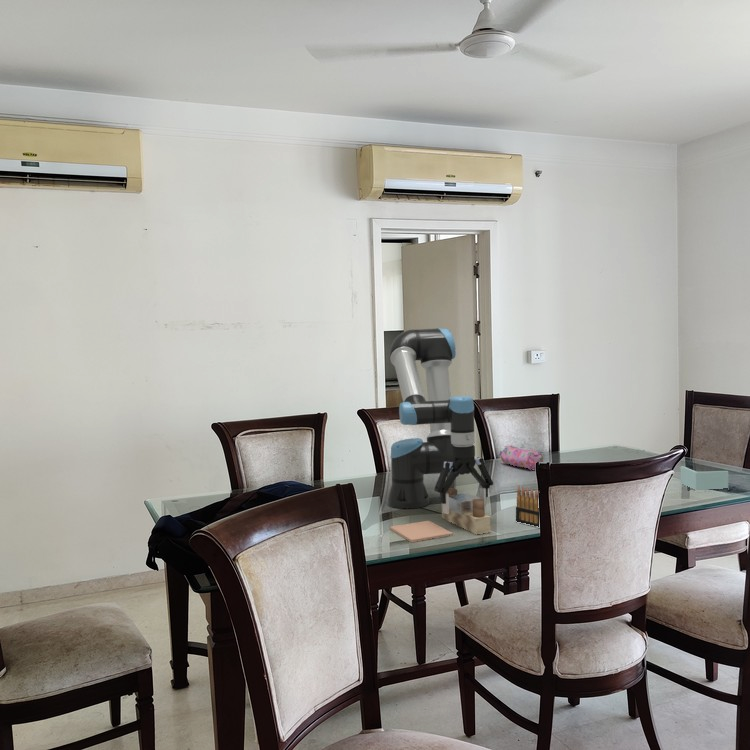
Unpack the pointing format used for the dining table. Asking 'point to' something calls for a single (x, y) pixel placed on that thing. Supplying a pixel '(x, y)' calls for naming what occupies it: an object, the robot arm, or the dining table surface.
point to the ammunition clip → (527, 507)
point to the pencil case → (520, 457)
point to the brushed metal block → (462, 503)
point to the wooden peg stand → (469, 516)
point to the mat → (420, 531)
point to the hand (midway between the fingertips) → (464, 510)
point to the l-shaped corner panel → (704, 479)
